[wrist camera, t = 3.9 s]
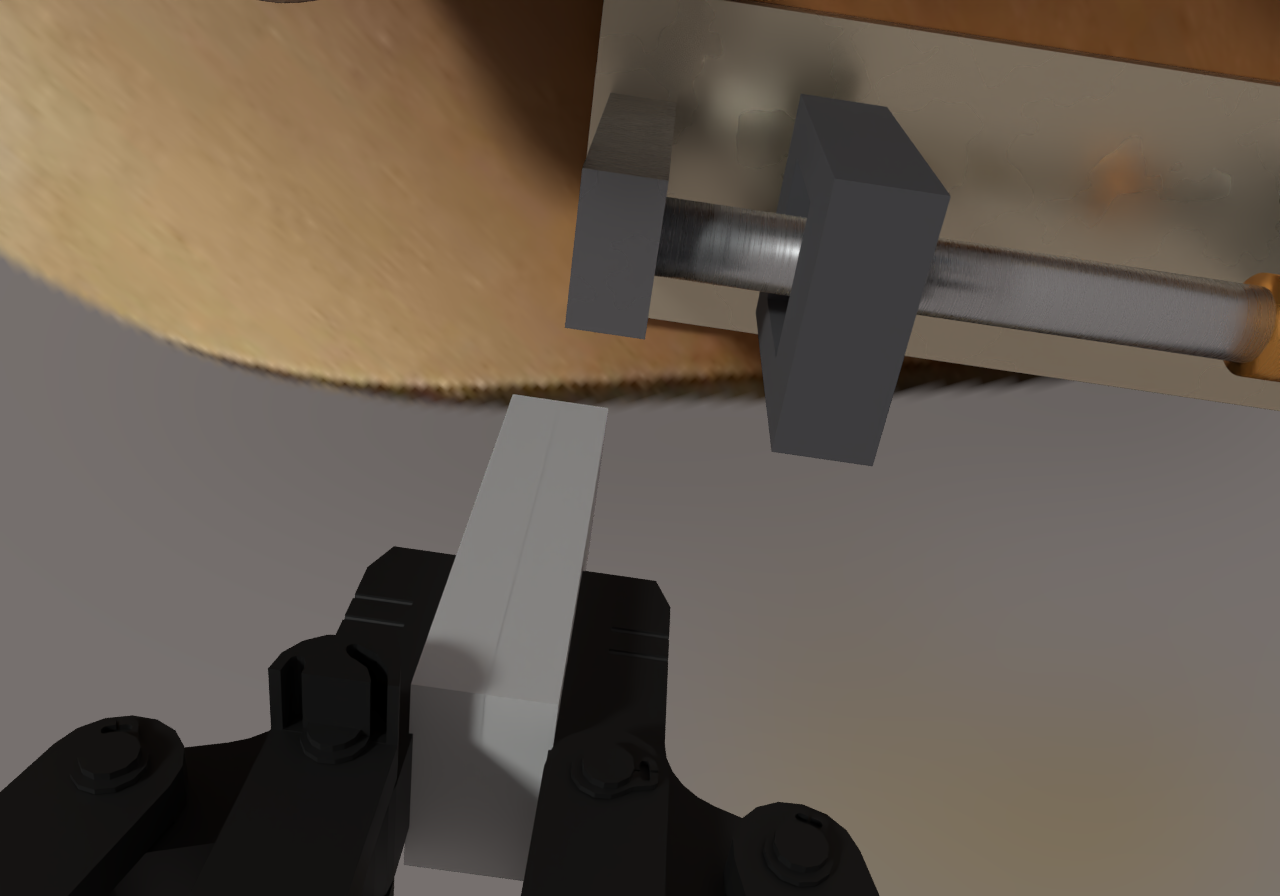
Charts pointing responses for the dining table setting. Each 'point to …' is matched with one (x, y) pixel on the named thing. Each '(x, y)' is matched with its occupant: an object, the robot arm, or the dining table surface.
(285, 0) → the cup
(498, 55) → the dining table surface
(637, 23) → the rail
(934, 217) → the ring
